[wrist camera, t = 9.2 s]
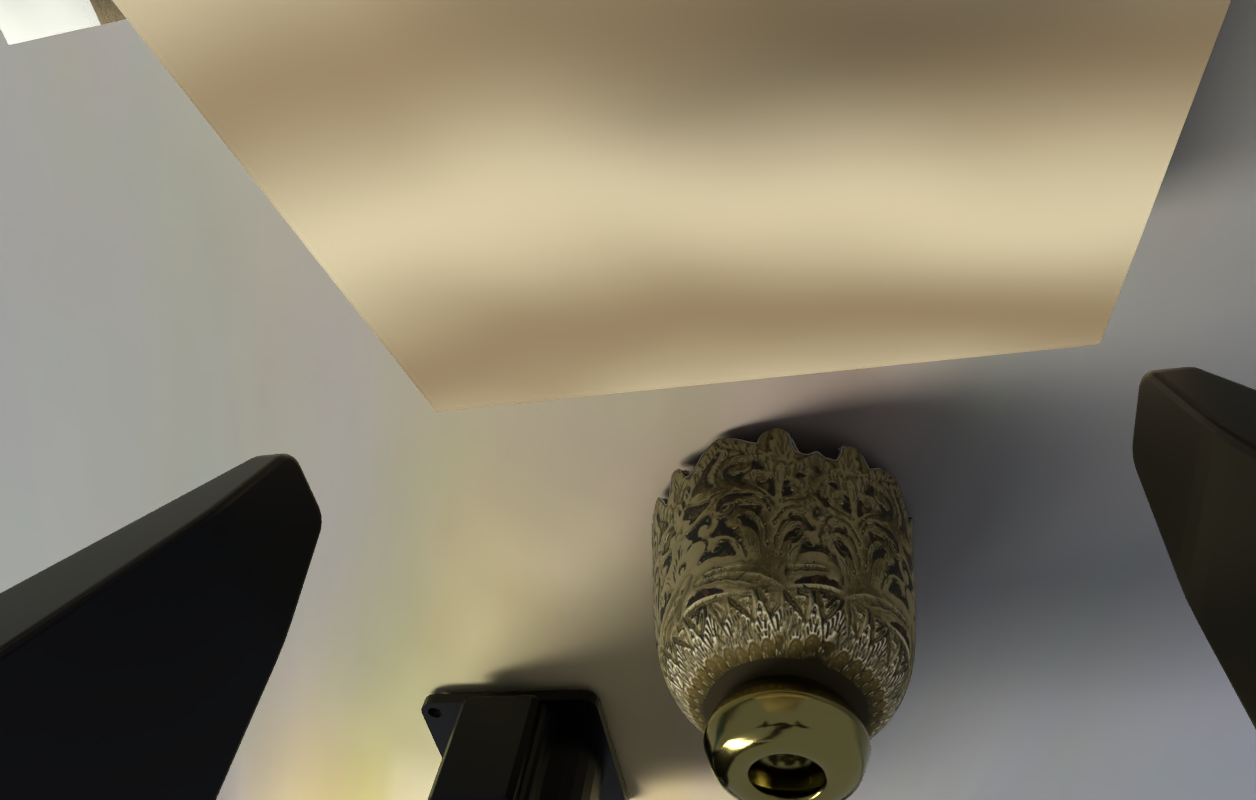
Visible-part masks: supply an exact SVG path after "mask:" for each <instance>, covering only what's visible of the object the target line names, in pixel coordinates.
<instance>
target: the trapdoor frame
mask: <svg viewBox="0 0 1256 800" xmlns="http://www.w3.org/2000/svg"><path fill="white" fill-rule="evenodd" d="M123 19H126V17H125V16H124V15H123V14H122V12H121V11H120V10H119V8H118V7H117V6H116V5H115V3H114V2H113V1H112V0H0V29H1V30H2V32H3V34H4V36H5V38H6V40H7V42H8V44H9V45H10V44H15V43H20V42H24V41H29V40H33V39H38V38H42V37H47V36H51V35H56V34H61V33H65V32H70V31H74V30H79V29H83V28H88V27H92V26H97V25H102V24H106V23H110V22H114V21H119V20H123Z"/></svg>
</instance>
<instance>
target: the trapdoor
mask: <svg viewBox="0 0 1256 800" xmlns="http://www.w3.org/2000/svg"><path fill="white" fill-rule="evenodd" d="M112 1H113V2H114V3H115V5H116V6H117V7H118V8H119V10H120V11H121V12H122V14H123V15H124V16H125V17H126V19H127V20H128V21H129V22H130V24H131V25H132V26H133V27H134V29H135V30H136V31H137V33H138V34H139V35H140V36H141V38H142V39H143V40H144V41H145V43H146V44H147V45H148V46H149V48H150V49H151V50H152V52H153V53H154V54H155V55H156V57H157V58H158V59H159V60H160V62H161V63H162V64H163V66H164V67H165V68H166V69H167V71H168V72H169V73H170V74H171V76H172V77H173V78H174V79H175V81H176V82H177V83H178V85H179V86H180V87H181V88H182V90H183V91H184V92H185V93H186V95H187V96H188V97H189V98H190V100H191V101H192V102H193V104H194V105H195V106H196V107H197V109H198V110H199V111H200V112H201V114H202V115H203V116H204V118H205V119H206V120H207V121H208V123H209V124H210V125H211V126H212V128H213V129H214V130H215V131H216V133H217V134H218V135H219V137H220V138H221V139H222V140H223V142H224V143H225V144H226V145H227V147H228V148H229V149H230V150H231V152H232V153H233V154H234V156H235V157H236V158H237V159H238V161H239V162H240V163H241V164H242V166H243V167H244V168H245V170H246V171H247V172H248V173H249V175H250V176H251V177H252V178H253V180H254V181H255V182H256V183H257V185H258V186H259V187H260V189H261V190H262V191H263V192H264V194H265V195H266V196H267V197H268V199H269V200H270V201H271V202H272V204H273V205H274V206H275V208H276V209H277V210H278V211H279V213H280V214H281V215H282V216H283V218H284V219H285V220H286V222H287V223H288V224H289V225H290V227H291V228H292V229H293V230H294V232H295V233H296V234H297V235H298V237H299V238H300V239H301V241H302V242H303V243H304V244H305V246H306V247H307V248H308V249H309V251H310V252H311V253H312V254H313V256H314V257H315V258H316V260H317V261H318V262H319V263H320V265H321V266H322V267H323V268H324V270H325V271H326V272H327V274H328V275H329V276H330V277H331V279H332V280H333V281H334V282H335V284H336V285H337V286H338V287H339V289H340V290H341V291H342V293H343V294H344V295H345V296H346V298H347V299H348V300H349V301H350V303H351V304H352V305H353V306H354V308H355V309H356V310H357V312H358V313H359V314H360V315H361V317H362V318H363V319H364V320H365V322H366V323H367V324H368V326H369V327H370V328H371V329H372V331H373V332H374V333H375V334H376V336H377V337H378V338H379V339H380V341H381V342H382V343H383V345H384V346H385V347H386V348H387V350H388V351H389V352H390V353H391V355H392V356H393V357H394V358H395V360H396V361H397V362H398V364H399V365H400V366H401V367H402V369H403V370H404V371H405V372H406V374H407V375H408V376H409V378H410V379H411V380H412V381H413V383H414V384H415V385H416V386H417V388H418V389H419V390H420V391H421V393H422V394H423V395H424V397H425V398H426V399H427V400H428V402H429V403H430V404H431V405H432V407H433V408H434V409H435V410H436V412H437V411H447V410H457V409H467V408H476V407H486V406H496V405H506V404H516V403H526V402H536V401H545V400H555V399H565V398H575V397H585V396H595V395H605V394H614V393H624V392H634V391H644V390H654V389H664V388H674V387H683V386H693V385H703V384H713V383H723V382H733V381H743V380H752V379H762V378H772V377H782V376H792V375H802V374H812V373H821V372H831V371H841V370H851V369H861V368H871V367H881V366H890V365H900V364H910V363H920V362H930V361H940V360H950V359H959V358H969V357H979V356H989V355H999V354H1009V353H1019V352H1028V351H1038V350H1048V349H1058V348H1068V347H1078V346H1088V345H1097V344H1100V343H1101V340H1102V338H1103V335H1104V333H1105V330H1106V327H1107V325H1108V322H1109V320H1110V317H1111V314H1112V312H1113V309H1114V306H1115V304H1116V301H1117V299H1118V296H1119V293H1120V291H1121V288H1122V285H1123V283H1124V280H1125V278H1126V275H1127V272H1128V270H1129V267H1130V264H1131V262H1132V259H1133V257H1134V254H1135V251H1136V249H1137V246H1138V244H1139V241H1140V238H1141V236H1142V233H1143V230H1144V228H1145V225H1146V223H1147V220H1148V217H1149V215H1150V212H1151V209H1152V207H1153V204H1154V202H1155V199H1156V196H1157V194H1158V191H1159V188H1160V186H1161V183H1162V181H1163V178H1164V175H1165V173H1166V170H1167V167H1168V165H1169V162H1170V160H1171V157H1172V154H1173V152H1174V149H1175V147H1176V144H1177V141H1178V139H1179V136H1180V133H1181V131H1182V128H1183V126H1184V123H1185V120H1186V118H1187V115H1188V112H1189V110H1190V107H1191V105H1192V102H1193V99H1194V97H1195V94H1196V91H1197V89H1198V86H1199V84H1200V81H1201V78H1202V76H1203V73H1204V70H1205V68H1206V65H1207V63H1208V60H1209V57H1210V55H1211V52H1212V50H1213V47H1214V44H1215V42H1216V39H1217V36H1218V34H1219V31H1220V29H1221V26H1222V23H1223V21H1224V18H1225V15H1226V13H1227V10H1228V8H1229V5H1230V2H1231V0H112Z"/></svg>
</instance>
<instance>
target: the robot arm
mask: <svg viewBox="0 0 1256 800" xmlns="http://www.w3.org/2000/svg"><path fill="white" fill-rule="evenodd" d="M1133 458H1134V463H1135V467H1136V470H1137V473H1138V476H1139V478H1140V481H1141V484H1142V486H1143V489H1144V491H1145V494H1146V497H1147V499H1148V502H1149V504H1150V507H1151V510H1152V512H1153V515H1154V518H1155V520H1156V523H1157V525H1158V528H1159V531H1160V533H1161V536H1162V538H1163V541H1164V544H1165V546H1166V549H1167V552H1168V554H1169V557H1170V559H1171V562H1172V565H1173V567H1174V570H1175V572H1176V575H1177V578H1178V580H1179V583H1180V585H1181V587H1182V590H1183V592H1184V595H1185V597H1186V599H1187V601H1188V603H1189V605H1190V607H1191V609H1192V611H1193V613H1194V615H1195V617H1196V619H1197V621H1198V623H1199V625H1200V627H1201V629H1202V631H1203V633H1204V634H1205V636H1206V638H1207V640H1208V642H1209V644H1210V645H1211V647H1212V649H1213V651H1214V653H1215V655H1216V657H1217V658H1218V660H1219V662H1220V664H1221V666H1222V668H1223V670H1224V671H1225V673H1226V675H1227V677H1228V679H1229V681H1230V683H1231V684H1232V686H1233V688H1234V690H1235V692H1236V694H1237V696H1238V697H1239V699H1240V701H1241V703H1242V705H1243V707H1244V709H1245V710H1246V712H1247V714H1248V716H1249V718H1250V720H1251V721H1252V723H1253V725H1254V727H1255V729H1256V390H1255V389H1252V388H1249V387H1247V386H1244V385H1241V384H1239V383H1236V382H1233V381H1230V380H1228V379H1225V378H1222V377H1220V376H1217V375H1214V374H1212V373H1209V372H1206V371H1204V370H1201V369H1198V368H1195V367H1182V368H1172V369H1162V370H1153V371H1150V372H1148V373H1146V374H1145V375H1144V376H1143V378H1142V380H1141V383H1140V386H1139V393H1138V402H1137V410H1136V419H1135V428H1134V436H1133ZM321 523H322V520H321V512H320V509H319V506H318V504H317V502H316V500H315V497H314V495H313V493H312V491H311V489H310V486H309V484H308V482H307V480H306V478H305V476H304V473H303V471H302V469H301V467H300V465H299V463H298V461H297V460H296V459H295V458H294V457H292V456H290V455H288V454H274V455H263V456H257V457H254V458H252V459H250V460H248V461H246V462H244V463H242V464H240V465H239V466H237V467H235V468H233V469H231V470H229V471H227V472H226V473H224V474H222V475H220V476H218V477H216V478H214V479H212V480H211V481H209V482H207V483H205V484H203V485H201V486H199V487H198V488H196V489H194V490H192V491H190V492H188V493H186V494H185V495H183V496H181V497H179V498H177V499H175V500H173V501H171V502H170V503H168V504H166V505H164V506H162V507H160V508H158V509H157V510H155V511H153V512H151V513H149V514H147V515H145V516H144V517H142V518H140V519H138V520H136V521H134V522H132V523H131V524H129V525H127V526H125V527H123V528H121V529H119V530H117V531H116V532H114V533H112V534H110V535H108V536H106V537H104V538H103V539H101V540H99V541H97V542H95V543H93V544H91V545H90V546H88V547H86V548H84V549H82V550H80V551H78V552H76V553H75V554H73V555H71V556H69V557H67V558H65V559H63V560H62V561H60V562H58V563H56V564H54V565H52V566H50V567H49V568H47V569H45V570H43V571H41V572H39V573H37V574H36V575H34V576H32V577H30V578H28V579H26V580H24V581H22V582H21V583H19V584H17V585H15V586H13V587H11V588H9V589H8V590H6V591H4V592H2V593H0V800H216V798H217V796H218V794H219V791H220V789H221V787H222V785H223V782H224V780H225V778H226V775H227V773H228V771H229V769H230V766H231V764H232V762H233V760H234V757H235V755H236V753H237V750H238V748H239V746H240V744H241V741H242V739H243V737H244V734H245V732H246V730H247V728H248V725H249V723H250V721H251V718H252V716H253V714H254V712H255V709H256V707H257V705H258V702H259V700H260V698H261V696H262V693H263V691H264V689H265V686H266V684H267V682H268V680H269V677H270V675H271V673H272V671H273V668H274V666H275V664H276V661H277V659H278V657H279V654H280V652H281V649H282V647H283V644H284V642H285V639H286V636H287V633H288V630H289V627H290V625H291V622H292V619H293V615H294V612H295V609H296V606H297V603H298V600H299V597H300V594H301V590H302V587H303V584H304V581H305V578H306V575H307V572H308V569H309V565H310V562H311V559H312V556H313V553H314V550H315V547H316V544H317V540H318V537H319V534H320V531H321ZM421 711H422V714H423V716H424V719H425V721H426V723H427V725H428V728H429V730H430V732H431V734H432V736H433V739H434V741H435V743H436V745H437V747H438V750H439V752H440V754H441V756H442V761H441V764H440V767H439V769H438V772H437V775H436V778H435V781H434V783H433V786H432V789H431V792H430V795H429V797H428V800H629V796H628V793H627V789H626V786H625V783H624V779H623V776H622V773H621V769H620V766H619V763H618V759H617V756H616V753H615V749H614V746H613V743H612V739H611V736H610V733H609V729H608V726H607V723H606V719H605V716H604V713H603V709H602V706H601V703H600V699H599V698H598V696H597V695H596V694H595V693H593V692H591V691H588V690H560V691H526V692H491V693H457V694H433V695H429V696H427V697H426V699H425V702H424V704H423V707H422V709H421Z"/></svg>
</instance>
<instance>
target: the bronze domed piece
mask: <svg viewBox="0 0 1256 800" xmlns="http://www.w3.org/2000/svg"><path fill="white" fill-rule="evenodd" d="M790 440H792V441H790ZM791 443H792V444H791ZM792 445H793V446H792ZM793 447H794V448H793ZM795 450H796V451H798V448H797V447H796V446H795V442H794V441H793V439H792V438H791V437H790V435H789V433H788V432H786V431H784V430H782V429H779V428H773V429H770V430H768V431H766V432H764V433H762V434H761V435H760V437H759V439H758V441H757V443H755V442H748V441H745V440H740V439H736V438H721V439H718V440H716V441H715V442H714V443H712V444H711V445H710V446H709V447H708V449H707V450H706V451H705V452H704V453H703V454H702V455H701V457H700V459H699V461H698V463H697V465H696V467H695V468H694V470H693V471H692V472H691V473H690V475H689V471H686V470H685V471H682V470H680V469H678V470H676V471H674V472H673V474H672V476H671V483H670V493H669V497H668V500H667V499H662V498H660V497H659V498H658V499H657V501H656V505H655V509H654V514H653V523H652V548H653V612H654V629H655V637H656V645H657V652H658V657H659V662H660V666H661V670H662V673H663V676H664V679H665V681H666V684H667V686H668V689H669V691H670V693H671V695H672V697H673V699H674V700H675V702H676V703H677V705H678V706H679V708H680V709H681V711H682V712H683V714H684V715H685V716H686V717H687V719H688V720H689V721H690V722H691V723H692V724H693V725H694V726H695V727H696V728H697V729H699V730H700V731H701V732H702V733H703V734H704V739H703V744H704V750H705V754H706V757H707V760H708V763H709V765H710V768H711V770H712V772H713V774H714V776H715V778H716V780H717V781H718V783H719V784H720V785H721V786H722V788H723V789H724V790H725V791H727V792H728V793H729V794H730V795H731V796H733V797H734V798H735V799H737V800H846V799H847V798H848V797H850V796H851V795H852V794H853V793H854V792H855V791H856V789H857V788H858V786H859V785H860V783H861V781H862V779H863V777H864V774H865V772H866V769H867V766H868V762H869V758H870V751H871V746H870V739H871V738H872V737H873V736H875V735H876V734H877V733H878V732H879V731H880V730H881V729H882V728H883V727H884V726H885V725H886V724H887V723H888V722H889V721H890V719H891V718H892V716H893V715H894V713H895V712H896V710H897V709H898V707H899V705H900V704H901V702H902V700H903V697H904V695H905V693H906V690H907V687H908V684H909V682H910V678H911V674H912V668H913V662H914V655H915V641H916V598H915V576H914V558H913V520H912V518H908V516H907V512H906V506H905V502H904V499H903V496H902V493H901V491H900V488H899V486H898V483H897V481H896V480H895V478H894V477H893V476H892V475H891V474H889V473H888V472H886V471H884V470H882V469H880V468H873V469H871V468H869V467H868V464H867V463H866V461H865V459H864V457H863V455H862V454H861V453H860V452H859V451H858V450H857V449H856V448H854V447H849V446H841V447H840V448H839V449H837V450H839V451H840V452H839V453H838V458H837V460H833V459H830V458H827V457H824V456H823V455H822V454H821V453H820V452H819V451H815V452H813V453H810V454H804V453H799V452H800V451H798V452H796V451H795ZM687 475H689V476H687Z"/></svg>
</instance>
